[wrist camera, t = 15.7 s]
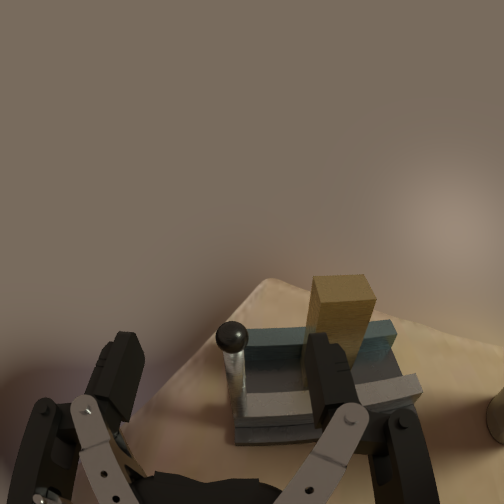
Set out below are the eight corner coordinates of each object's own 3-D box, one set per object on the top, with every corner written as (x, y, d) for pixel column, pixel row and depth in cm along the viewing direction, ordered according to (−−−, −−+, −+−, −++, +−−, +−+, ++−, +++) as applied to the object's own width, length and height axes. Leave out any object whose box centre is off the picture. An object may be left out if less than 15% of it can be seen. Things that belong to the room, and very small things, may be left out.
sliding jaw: (415, 406, 26) (478, 312, 18) (230, 430, 26) (212, 338, 18) (407, 385, 29) (460, 288, 21) (231, 404, 29) (216, 304, 21)
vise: (414, 421, 26) (428, 405, 24) (235, 445, 26) (232, 433, 24) (380, 334, 40) (387, 314, 37) (237, 343, 40) (236, 323, 37)
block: (345, 382, 32) (376, 299, 24) (303, 386, 32) (320, 302, 24) (339, 358, 35) (363, 274, 28) (299, 361, 35) (313, 276, 28)
